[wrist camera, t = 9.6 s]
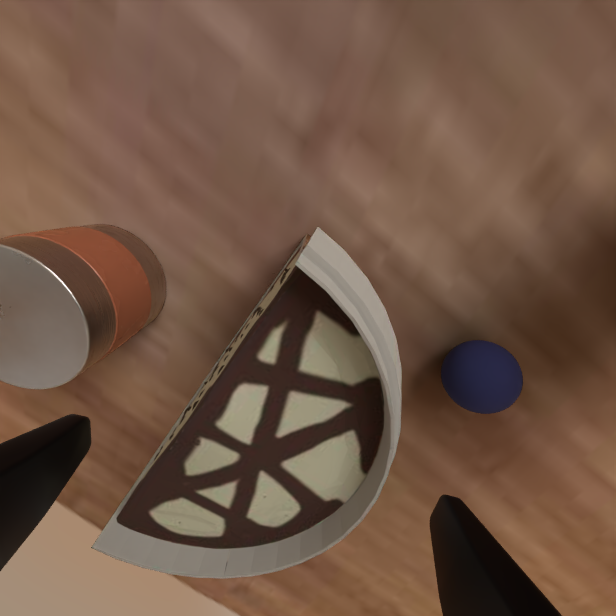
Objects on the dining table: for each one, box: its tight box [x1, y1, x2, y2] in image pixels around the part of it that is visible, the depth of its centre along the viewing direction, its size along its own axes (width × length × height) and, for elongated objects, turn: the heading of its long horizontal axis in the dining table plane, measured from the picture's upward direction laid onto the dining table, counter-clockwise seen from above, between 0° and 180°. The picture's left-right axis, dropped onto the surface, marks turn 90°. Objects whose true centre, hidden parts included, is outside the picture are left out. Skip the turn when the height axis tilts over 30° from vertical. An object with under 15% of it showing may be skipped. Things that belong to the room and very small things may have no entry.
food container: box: [91, 227, 402, 578], centre depth 13 cm, size 12×6×10 cm, turn 144°
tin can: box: [0, 224, 166, 389], centre depth 15 cm, size 6×6×6 cm
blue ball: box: [441, 340, 523, 414], centre depth 16 cm, size 4×4×4 cm
